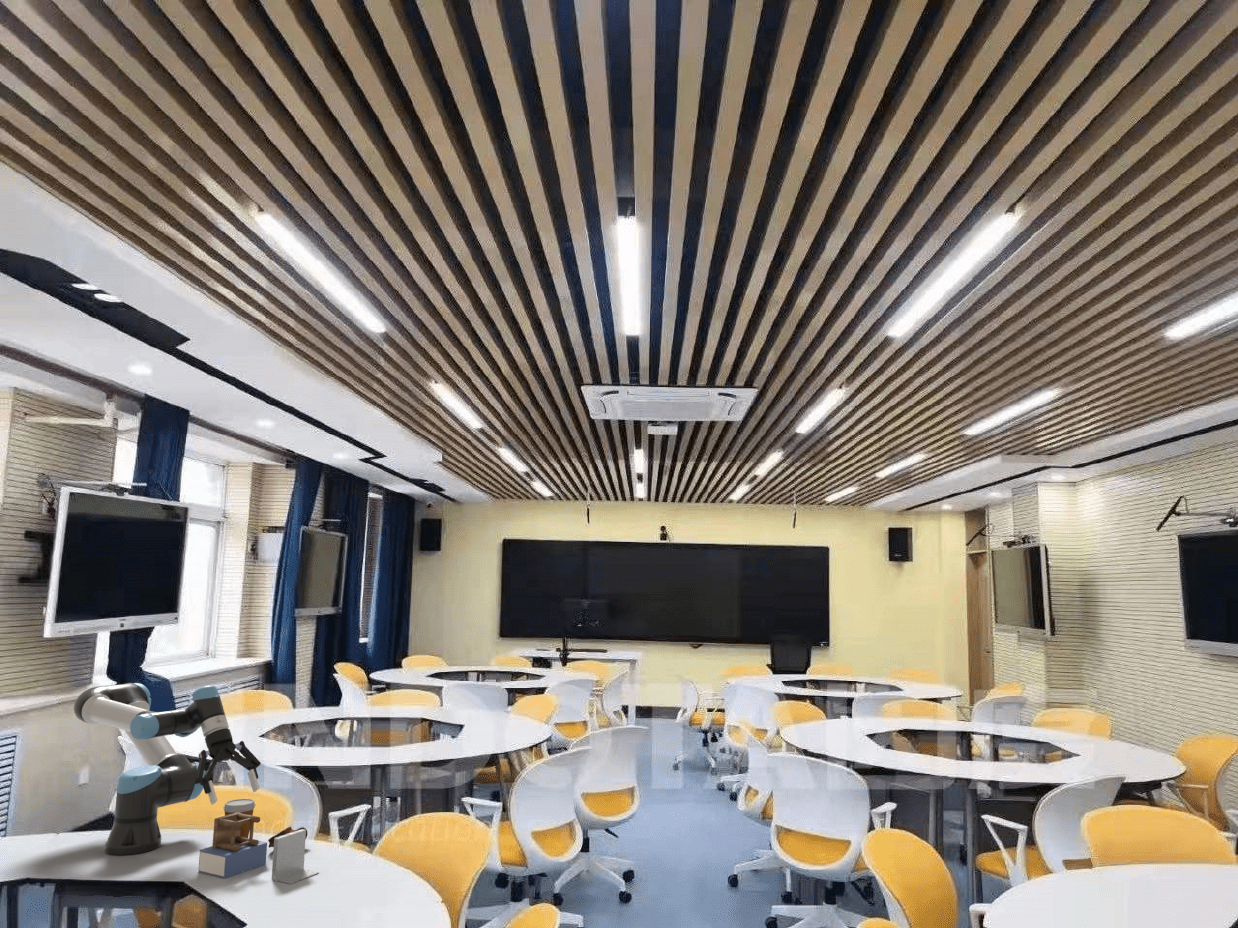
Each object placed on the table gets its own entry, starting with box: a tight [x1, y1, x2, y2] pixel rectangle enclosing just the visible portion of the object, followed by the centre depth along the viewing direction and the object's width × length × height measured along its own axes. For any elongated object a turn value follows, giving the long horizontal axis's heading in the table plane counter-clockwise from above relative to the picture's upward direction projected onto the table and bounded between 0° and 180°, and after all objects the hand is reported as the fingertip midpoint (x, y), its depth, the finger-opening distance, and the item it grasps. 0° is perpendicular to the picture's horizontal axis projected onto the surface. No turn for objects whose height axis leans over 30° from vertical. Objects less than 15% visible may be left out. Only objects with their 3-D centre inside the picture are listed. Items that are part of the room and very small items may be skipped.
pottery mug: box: [267, 826, 308, 849], centre depth 260 cm, size 12×10×8 cm
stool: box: [211, 812, 261, 852], centre depth 244 cm, size 10×8×8 cm
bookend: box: [271, 829, 320, 885], centre depth 237 cm, size 8×10×11 cm
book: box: [198, 840, 268, 879], centre depth 243 cm, size 11×14×6 cm
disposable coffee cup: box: [222, 798, 256, 838], centre depth 269 cm, size 10×10×12 cm
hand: (235, 796), depth 260 cm, fingers open, 13 cm apart
